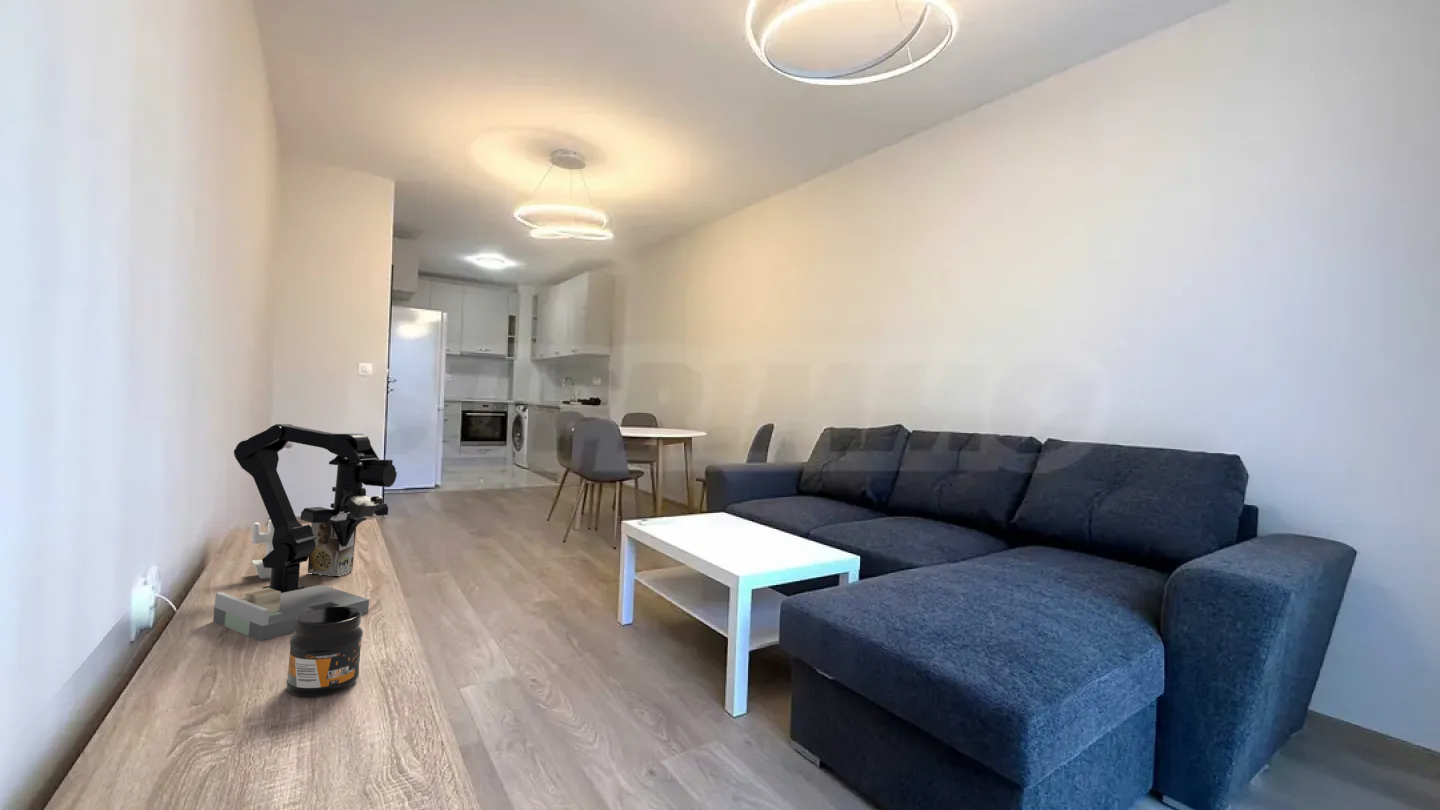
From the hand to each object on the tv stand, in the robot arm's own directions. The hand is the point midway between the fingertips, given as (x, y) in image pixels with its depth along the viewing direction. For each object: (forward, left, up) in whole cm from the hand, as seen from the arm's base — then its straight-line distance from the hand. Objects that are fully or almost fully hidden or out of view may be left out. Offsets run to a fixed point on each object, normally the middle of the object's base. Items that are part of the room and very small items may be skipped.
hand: (343, 546), depth 149 cm
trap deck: (+8, -15, -12) cm, 20 cm away
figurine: (-27, -2, -12) cm, 30 cm away
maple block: (+8, -21, -9) cm, 25 cm away
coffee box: (-19, +9, -12) cm, 25 cm away
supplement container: (+44, -30, -12) cm, 54 cm away
